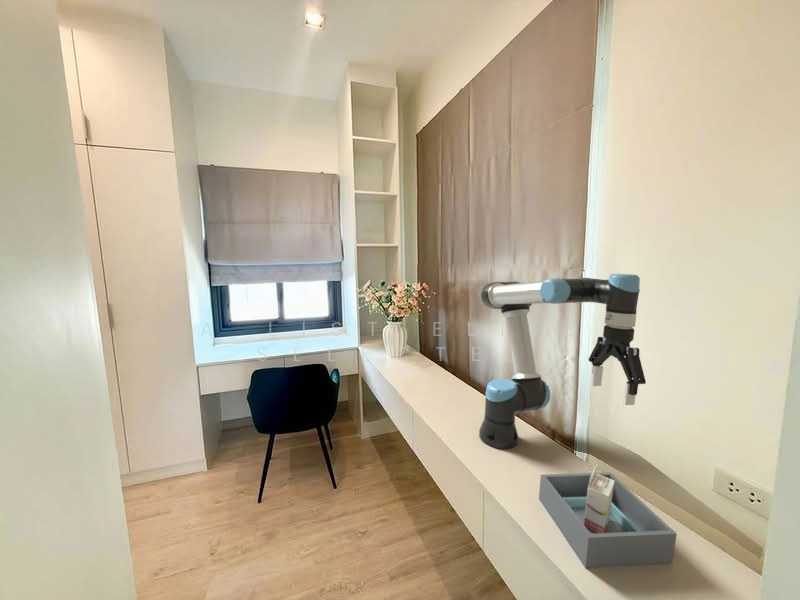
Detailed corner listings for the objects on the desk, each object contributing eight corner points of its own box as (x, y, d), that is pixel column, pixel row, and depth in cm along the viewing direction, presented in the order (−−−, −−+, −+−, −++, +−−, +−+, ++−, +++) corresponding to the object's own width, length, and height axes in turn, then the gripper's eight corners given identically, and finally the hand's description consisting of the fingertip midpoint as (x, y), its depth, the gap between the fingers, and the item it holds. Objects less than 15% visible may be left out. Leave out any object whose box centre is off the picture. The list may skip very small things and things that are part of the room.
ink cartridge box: (604, 538, 83) (610, 486, 81) (583, 527, 86) (588, 477, 84) (610, 518, 89) (616, 470, 87) (590, 509, 93) (595, 462, 91)
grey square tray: (538, 498, 98) (540, 474, 97) (607, 496, 99) (610, 472, 98) (585, 567, 76) (588, 537, 75) (672, 563, 78) (676, 533, 77)
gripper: (580, 318, 107) (574, 379, 110) (641, 336, 83) (631, 414, 86) (602, 318, 108) (595, 378, 111) (668, 336, 83) (658, 413, 86)
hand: (611, 394), depth 98 cm, fingers open, 13 cm apart
